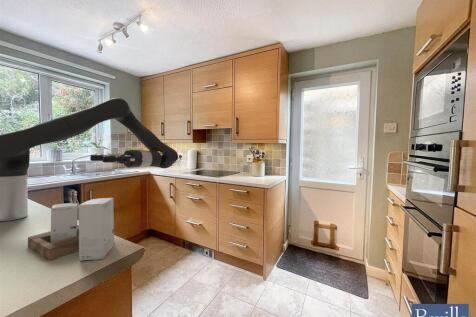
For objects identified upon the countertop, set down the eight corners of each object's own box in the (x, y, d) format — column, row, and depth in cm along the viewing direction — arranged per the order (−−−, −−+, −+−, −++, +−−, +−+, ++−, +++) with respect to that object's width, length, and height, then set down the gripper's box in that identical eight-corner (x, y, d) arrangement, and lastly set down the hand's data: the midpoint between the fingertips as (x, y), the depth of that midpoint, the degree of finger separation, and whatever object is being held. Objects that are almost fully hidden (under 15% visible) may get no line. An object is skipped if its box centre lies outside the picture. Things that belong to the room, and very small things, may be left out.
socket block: (28, 247, 60) (27, 237, 60) (76, 233, 70) (76, 224, 70) (49, 260, 53) (49, 249, 53) (99, 242, 64) (99, 233, 64)
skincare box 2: (103, 259, 54) (103, 203, 54) (77, 261, 53) (76, 204, 52) (114, 245, 62) (115, 196, 62) (92, 246, 61) (92, 197, 61)
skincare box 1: (50, 250, 58) (49, 208, 58) (52, 244, 62) (51, 204, 61) (77, 245, 62) (77, 205, 61) (78, 239, 66) (77, 201, 65)
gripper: (128, 149, 92) (87, 147, 78) (149, 150, 85) (108, 148, 71) (127, 166, 92) (86, 167, 78) (148, 168, 85) (107, 170, 71)
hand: (96, 158), depth 74 cm, fingers open, 8 cm apart
